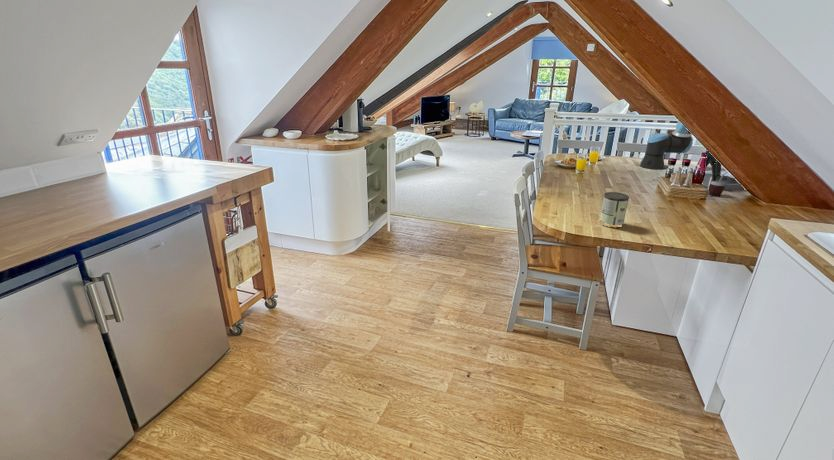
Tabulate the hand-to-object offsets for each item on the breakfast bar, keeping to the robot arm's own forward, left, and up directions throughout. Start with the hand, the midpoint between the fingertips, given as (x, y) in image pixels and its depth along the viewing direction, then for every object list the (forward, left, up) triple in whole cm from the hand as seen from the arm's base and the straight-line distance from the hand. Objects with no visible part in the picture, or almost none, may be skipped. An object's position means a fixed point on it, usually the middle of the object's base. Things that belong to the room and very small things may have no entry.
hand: (704, 184), depth 248 cm
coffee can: (+61, -85, -2) cm, 105 cm away
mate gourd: (+18, -6, -2) cm, 19 cm away
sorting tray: (-2, +15, -1) cm, 15 cm away
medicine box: (0, 0, -2) cm, 2 cm away
